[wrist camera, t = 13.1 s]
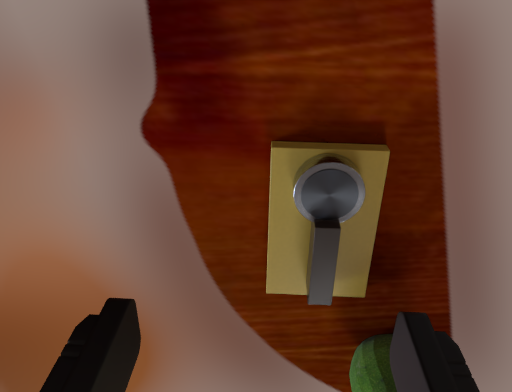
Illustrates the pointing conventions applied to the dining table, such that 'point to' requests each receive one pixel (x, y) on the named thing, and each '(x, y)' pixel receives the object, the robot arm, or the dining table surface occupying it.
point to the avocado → (372, 366)
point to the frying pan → (326, 215)
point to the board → (298, 227)
